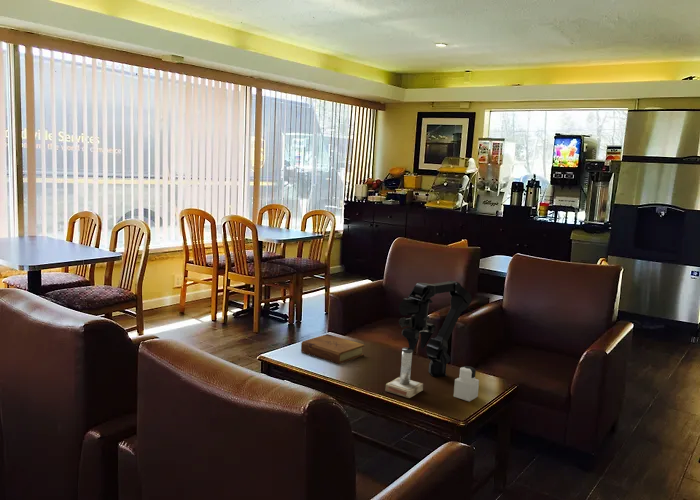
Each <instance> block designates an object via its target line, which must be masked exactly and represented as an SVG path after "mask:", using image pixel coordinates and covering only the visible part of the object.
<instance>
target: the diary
mask: <svg viewBox="0 0 700 500" xmlns="http://www.w3.org/2000/svg"><path fill="white" fill-rule="evenodd" d="M300 347H301V348H300V352H301V353H304V354H307V355H310V356H313V357H315V358H320V359H322V360H325V361H328V362H331V363H335V364H338V365H340V364H343V363H346V362H349V361H351V360H354V359H357V358H360V357H362V356H364V355H365V354H364V353H363V348H364V347H365V344H363V343H360V342H357V341H354V340H349V339H346V338H343V337H339V336H336V335H332V334H329V333H326V334H323V335H320V336H316V337H312V338H310V339H309V338H308V339H306V340H302V342H301V344H300Z"/></svg>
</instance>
